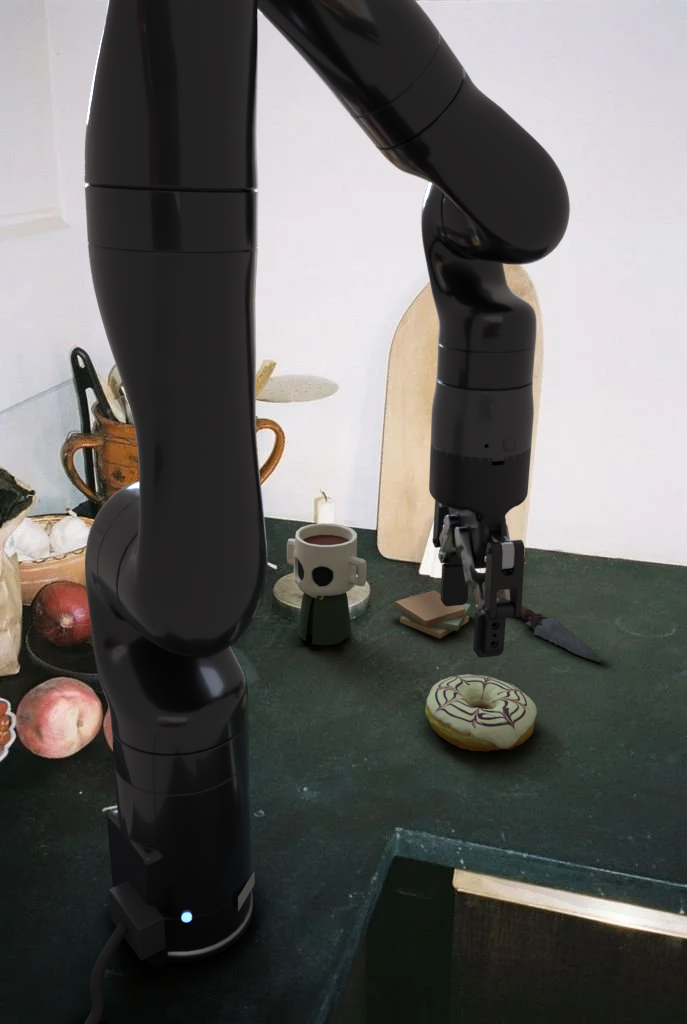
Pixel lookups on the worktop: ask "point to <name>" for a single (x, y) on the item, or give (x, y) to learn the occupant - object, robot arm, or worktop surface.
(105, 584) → the robot arm
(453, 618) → the coaster stack
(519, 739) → the decorated donut
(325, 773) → the worktop surface
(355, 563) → the character mug
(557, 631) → the knife
